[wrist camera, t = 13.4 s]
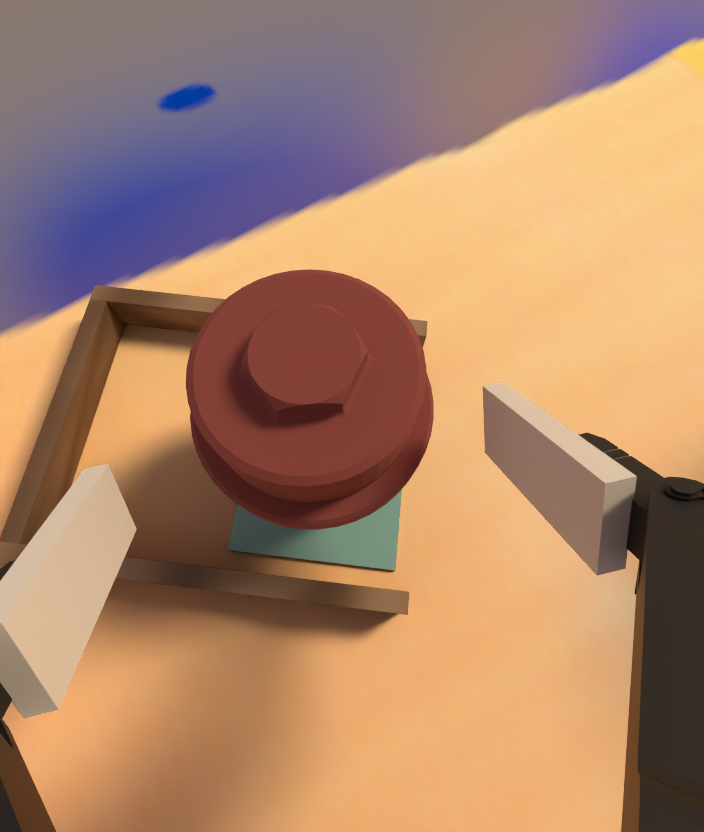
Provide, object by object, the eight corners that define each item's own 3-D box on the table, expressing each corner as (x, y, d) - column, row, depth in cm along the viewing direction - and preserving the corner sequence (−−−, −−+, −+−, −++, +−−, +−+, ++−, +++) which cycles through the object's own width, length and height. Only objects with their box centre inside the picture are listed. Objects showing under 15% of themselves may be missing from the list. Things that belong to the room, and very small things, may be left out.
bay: (420, 342, 29) (427, 321, 27) (401, 612, 24) (407, 614, 21) (114, 309, 30) (95, 285, 28) (25, 565, 24) (-10, 562, 22)
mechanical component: (201, 437, 27) (340, 347, 29) (299, 584, 24) (443, 472, 26) (92, 322, 15) (338, 188, 17) (256, 581, 12) (522, 382, 15)
